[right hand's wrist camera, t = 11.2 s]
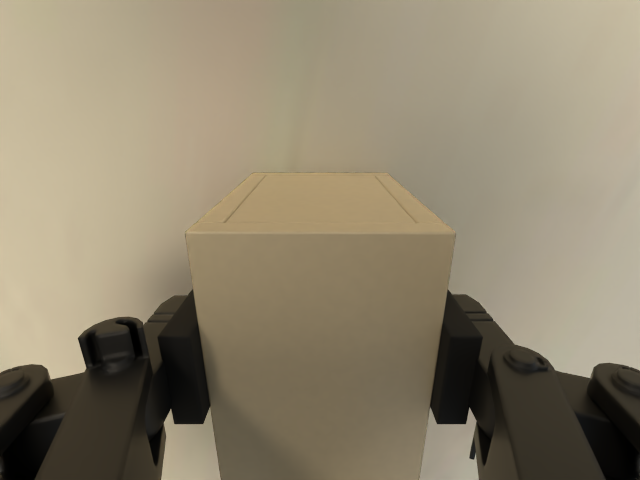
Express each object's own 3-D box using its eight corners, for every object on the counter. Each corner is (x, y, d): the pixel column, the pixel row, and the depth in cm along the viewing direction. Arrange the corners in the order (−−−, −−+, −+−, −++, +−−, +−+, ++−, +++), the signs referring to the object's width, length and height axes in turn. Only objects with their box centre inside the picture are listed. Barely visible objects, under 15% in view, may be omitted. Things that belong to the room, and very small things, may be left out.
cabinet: (368, 449, 21) (395, 639, 14) (271, 449, 21) (243, 639, 14) (387, 172, 15) (457, 231, 8) (252, 172, 15) (183, 231, 8)
